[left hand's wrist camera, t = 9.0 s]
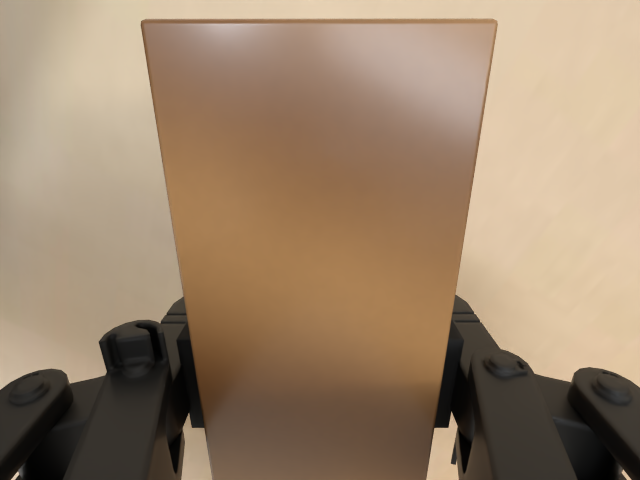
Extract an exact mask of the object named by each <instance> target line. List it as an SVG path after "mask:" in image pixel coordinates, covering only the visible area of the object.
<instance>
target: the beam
mask: <svg viewBox="0 0 640 480" xmlns="http://www.w3.org/2000/svg"><path fill="white" fill-rule="evenodd" d="M497 25H498V24H497V21H496V20H494V19H145V20H143V21H141V29H142V36H143V42H144V48H145V55H146V61H147V67H148V74H149V80H150V86H151V93H152V99H153V105H154V111H155V118H156V124H157V130H158V137H159V143H160V149H161V156H162V162H163V168H164V175H165V181H166V187H167V194H168V200H169V206H170V213H171V219H172V225H173V232H174V238H175V244H176V251H177V257H178V263H179V270H180V276H181V282H182V289H183V295H184V301H185V308H186V314H187V320H188V327H189V333H190V339H191V346H192V352H193V358H194V365H195V371H196V377H197V384H198V390H199V396H200V403H201V409H202V415H203V422H204V428H205V434H206V441H207V447H208V453H209V460H210V466H211V472H212V479H213V480H426V477H427V471H428V464H429V458H430V452H431V445H432V439H433V433H434V426H435V420H436V413H437V407H438V401H439V394H440V388H441V382H442V375H443V369H444V363H445V356H446V350H447V343H448V337H449V331H450V324H451V318H452V312H453V305H454V299H455V292H456V286H457V280H458V273H459V267H460V261H461V254H462V248H463V241H464V235H465V229H466V222H467V216H468V210H469V203H470V197H471V191H472V184H473V178H474V171H475V165H476V159H477V152H478V146H479V140H480V133H481V127H482V120H483V114H484V108H485V101H486V95H487V89H488V82H489V76H490V69H491V63H492V57H493V50H494V44H495V38H496V31H497Z"/></svg>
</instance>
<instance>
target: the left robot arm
mask: <svg viewBox="0 0 640 480" xmlns="http://www.w3.org/2000/svg"><path fill="white" fill-rule="evenodd" d="M99 345H100V348H101V352H102V355H103V359H104V363H105V366H106V370H107V373H106V375H105V376H102V377H98V378H94V379H89V380H85V381H80V382H76V383H71V384H70V383H69V380H68V377H67V374H65V373H64V372H63V371H62V370H56V369H46V370H39V371H36V372H32V373H29V374H26V375H24V376H22V377H20V378H18V379H16V380H14V381H12V382H10V383H9V384H8V385H6V386H5V387H4V388H2V389H1V390H0V480H11V479H12V478H13V476H14V475H15V474H16V473H17V471H18V472H19V476H18V477H17V478H16V479H15V480H181V476H182V466H183V456H184V446H185V440H184V433H183V425H184V423H185V421H186V418H187V416H188V413H189V414H190V420H191V425H192V428H204V422H203V415H202V409H201V403H200V396H199V390H198V384H197V377H196V371H195V365H194V358H193V352H192V346H191V339H190V333H189V327H188V320H187V314H186V308H185V301H184V297H182V298H181V299H180V300H178V301H177V302H175V303H174V304H173V305H172V307H171V308H170V309H169V311H168V312H167V315H165V316H164V318H163V319H162V321H161V324H159V323H158V322H155V321H151V320H137V321H133V322H128V323H125V324H122V325H120V326H118V327H115V328H113V329H112V330H110V331H109V332H108V333H106V334H105V335H104V336H103V337H102V338H101V340H100V341H99ZM451 411H452V413H453V416H454V418H455V420H456V423H457V425H458V428H457V433H456V438H455V443H454V449H453V454H452V460H451V464H455V465H456V460H457V465H458V475H459V480H627V479H626V478H625V477H624V476H623V474H622V471H623V469H624V471H625V472H626V473H627V474H628V476H629V477H630V478H631V479H632V480H640V388H639V387H638V386H637V385H635V384H634V383H633V382H631V381H630V380H628V379H626V378H624V377H622V376H620V375H618V374H616V373H613V372H611V371H607V370H604V369H598V368H591V367H588V368H581V369H579V370H578V371H576V372H575V373H574V375H573V378H572V381H571V382H567V381H562V380H558V379H553V378H549V377H544V376H540V375H537V374H534V372H533V371H532V369H531V368H530V366H529V365H528V363H526V362H525V361H524V360H523V359H521V358H520V357H519V356H517V355H515V354H513V353H510V352H508V351H505V350H501V349H500V348H499V347H498V345H497V344H496V342H495V341H494V340H493V338H492V337H491V335H490V334H489V333H488V331H487V330H486V328H485V327H484V326H483V324H482V323H480V320H479V319H478V317H477V316H476V314H474V312H473V310H472V309H471V307H470V306H469V305H468V303H467V302H466V301H464V300H463V299H461V298H460V297H458V296H457V295H455V299H454V305H453V312H452V318H451V324H450V331H449V337H448V343H447V350H446V356H445V363H444V369H443V375H442V382H441V388H440V394H439V401H438V407H437V413H436V420H435V426H434V428H448V427H449V421H450V416H451Z"/></svg>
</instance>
